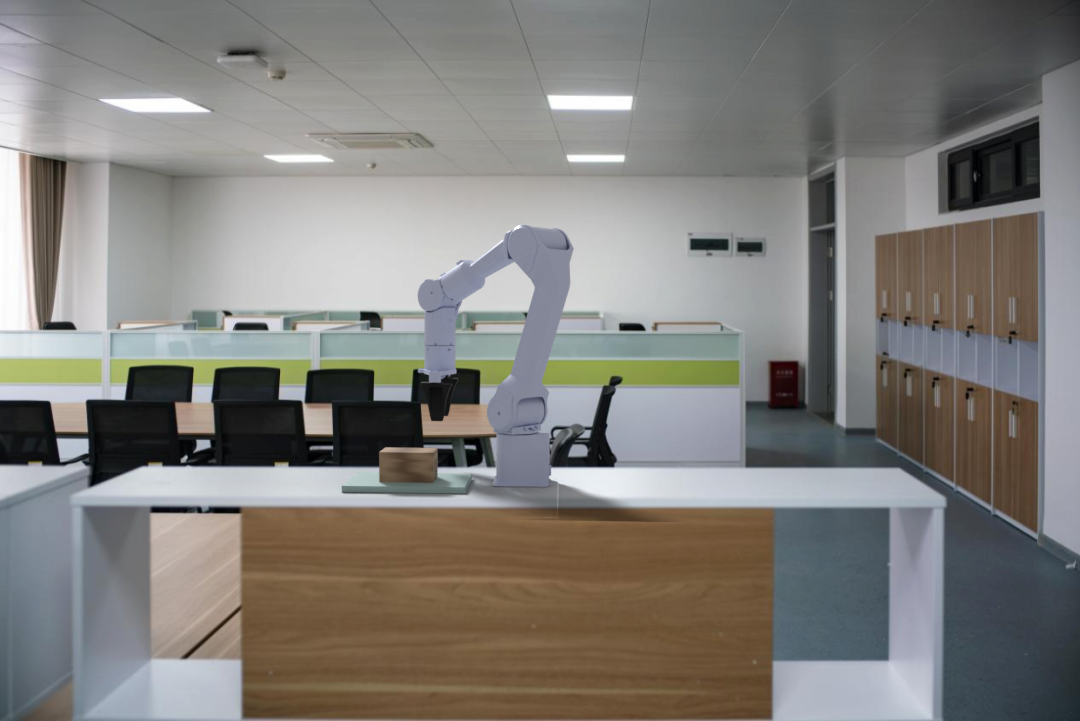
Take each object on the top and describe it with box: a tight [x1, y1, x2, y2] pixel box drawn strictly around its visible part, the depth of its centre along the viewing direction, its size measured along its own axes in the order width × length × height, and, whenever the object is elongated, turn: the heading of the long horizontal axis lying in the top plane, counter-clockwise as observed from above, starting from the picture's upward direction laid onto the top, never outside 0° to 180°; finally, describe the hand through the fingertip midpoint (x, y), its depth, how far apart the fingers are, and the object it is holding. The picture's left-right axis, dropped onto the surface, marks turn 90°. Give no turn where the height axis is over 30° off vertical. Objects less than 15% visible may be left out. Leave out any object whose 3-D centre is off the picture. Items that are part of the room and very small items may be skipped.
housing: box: [378, 446, 439, 483], centre depth 150 cm, size 9×5×5 cm, turn 88°
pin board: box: [341, 471, 473, 494], centre depth 150 cm, size 20×12×4 cm, turn 89°
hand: (439, 418), depth 165 cm, fingers open, 7 cm apart
